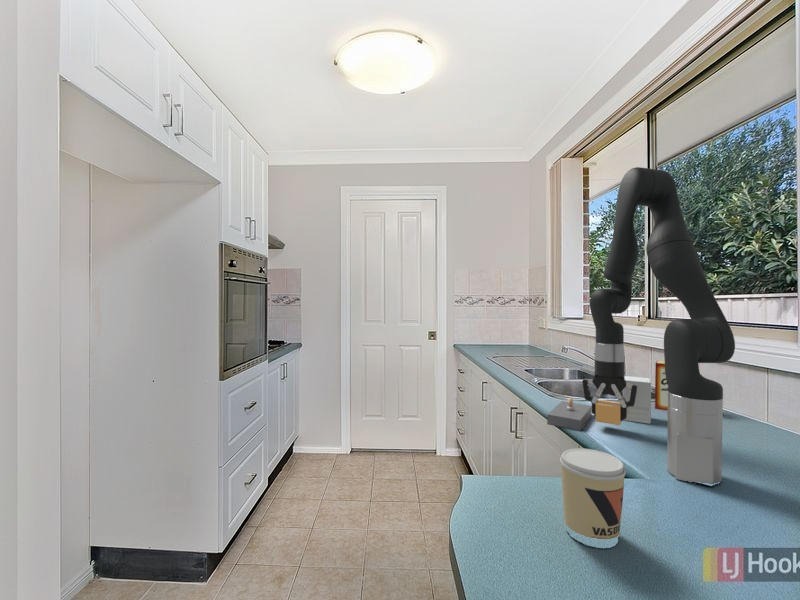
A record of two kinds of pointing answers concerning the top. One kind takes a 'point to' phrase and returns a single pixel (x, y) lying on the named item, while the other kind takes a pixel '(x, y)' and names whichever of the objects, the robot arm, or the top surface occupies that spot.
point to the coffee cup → (592, 492)
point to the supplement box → (639, 400)
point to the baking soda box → (661, 387)
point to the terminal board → (569, 415)
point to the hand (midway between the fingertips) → (609, 417)
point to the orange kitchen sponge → (608, 412)
